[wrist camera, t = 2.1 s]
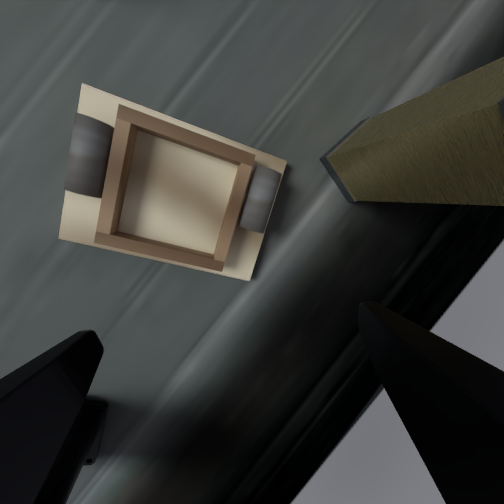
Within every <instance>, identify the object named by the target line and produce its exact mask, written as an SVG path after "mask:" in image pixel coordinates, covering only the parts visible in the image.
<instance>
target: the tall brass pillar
mask: <svg viewBox="0 0 504 504" xmlns="http://www.w3.org/2000/svg"><path fill="white" fill-rule="evenodd" d="M320 160H321V162H322V163H323V165H324V167H325V168H326V170H327V171H328V173H329V174H330V176H331V177H332V179H333V180H334V182H335V183H336V185H337V186H338V188H339V189H340V191H341V192H342V194H343V195H344V197H345V198H346V200H347V201H348V202H356V201H380V202H410V203H439V204H468V205H498V206H504V57H502V58H500V59H498V60H496V61H494V62H492V63H489V64H487V65H485V66H483V67H481V68H479V69H476V70H474V71H472V72H470V73H468V74H466V75H464V76H461V77H459V78H457V79H455V80H453V81H451V82H448V83H446V84H444V85H442V86H440V87H438V88H435V89H433V90H431V91H429V92H427V93H425V94H423V95H420V96H418V97H416V98H414V99H412V100H410V101H407V102H405V103H403V104H401V105H399V106H397V107H394V108H392V109H390V110H388V111H386V112H384V113H382V114H379V115H377V116H375V117H373V118H371V119H370V117H369V118H367V119H365V120H363V121H361V122H360V123H359V124H358V125H356V126H355V127H354V128H353V129H352V130H351V131H350V132H349V133H348V134H347V135H345V136H344V137H343V138H342V139H341V140H340V141H339V142H338V143H337V144H335V145H334V146H333V147H332V148H331V149H330V150H329V151H328V152H327V153H326V154H324V155H323V156H322V157H321V158H320Z"/></svg>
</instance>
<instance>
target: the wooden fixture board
mask: <svg viewBox="0 0 504 504" xmlns="http://www.w3.org/2000/svg"><path fill="white" fill-rule="evenodd" d="M286 163H287V161H285V160H282V159H280V158H277V157H274V156H272V155H269V154H267V153H264V152H261V151H259V150H256V149H253V148H251V147H248V146H246V145H243V144H240V143H238V142H235V141H233V140H230V139H227V138H225V137H222V136H219V135H217V134H214V133H212V132H209V131H206V130H204V129H201V128H198V127H196V126H193V125H191V124H188V123H185V122H183V121H180V120H177V119H175V118H172V117H170V116H167V115H164V114H162V113H159V112H156V111H154V110H151V109H149V108H146V107H143V106H141V105H138V104H135V103H133V102H130V101H128V100H125V99H122V98H120V97H117V96H114V95H112V94H109V93H107V92H104V91H101V90H99V89H96V88H94V87H91V86H88V85H86V84H83V83H82V86H81V93H80V100H79V106H78V113H75V119H74V125H73V132H72V139H71V145H70V152H69V159H68V165H67V172H66V179H65V186H64V189H65V190H66V192H65V199H64V205H63V212H62V219H61V225H60V232H59V239H63V240H68V241H72V242H77V243H81V244H86V245H90V246H95V247H99V248H104V249H108V250H113V251H117V252H122V253H126V254H130V255H135V256H139V257H144V258H148V259H153V260H157V261H162V262H166V263H171V264H175V265H180V266H184V267H189V268H193V269H198V270H202V271H207V272H211V273H216V274H220V275H224V276H229V277H233V278H238V279H242V280H247V281H250V278H251V275H252V272H253V269H254V266H255V262H256V259H257V256H258V253H259V250H260V246H261V243H262V240H263V237H264V234H265V230H266V227H267V224H268V221H269V218H270V214H271V211H272V208H273V205H274V202H275V198H276V195H277V192H278V189H279V186H280V183H281V179H282V176H283V173H284V170H285V167H286Z"/></svg>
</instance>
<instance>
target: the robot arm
mask: <svg viewBox="0 0 504 504" xmlns="http://www.w3.org/2000/svg"><path fill="white" fill-rule="evenodd" d="M357 324H358V328H359V331H360V333H361V336H362V338H363V341H364V343H365V346H366V348H367V351H368V353H369V356H370V358H371V360H372V363H373V365H374V368H375V370H376V372H377V374H378V376H379V378H380V380H381V382H382V384H383V386H384V388H385V390H386V392H387V394H388V396H389V397H390V399H391V401H392V403H393V405H394V407H395V409H396V411H397V412H398V414H399V416H400V418H401V420H402V422H403V424H404V426H405V428H406V429H407V431H408V433H409V435H410V437H411V439H412V440H413V443H414V444H415V446H416V448H417V450H418V452H419V454H420V456H421V458H422V459H423V461H424V463H425V465H426V467H427V469H428V471H429V473H430V475H431V476H432V478H433V480H434V482H435V484H436V486H437V488H438V490H439V491H440V493H441V495H442V497H443V499H444V501H445V503H446V504H504V371H502V370H500V369H498V368H496V367H494V366H493V365H491V364H489V363H487V362H485V361H483V360H481V359H480V358H478V357H476V356H474V355H472V354H470V353H469V352H467V351H465V350H463V349H461V348H459V347H457V346H456V345H454V344H452V343H450V342H448V341H446V340H445V339H443V338H441V337H439V336H437V335H435V334H433V333H432V332H430V331H428V330H426V329H424V328H422V327H420V326H419V325H417V324H415V323H413V322H411V321H409V320H408V319H406V318H404V317H402V316H400V315H398V314H396V313H395V312H393V311H391V310H389V309H387V308H385V307H383V306H382V305H380V304H378V303H376V302H374V301H368V302H361V303H360V305H359V311H358V320H357ZM103 351H104V348H103V345H102V343H101V342H100V340H99V338H98V336H97V334H96V333H95V331H93V330H84V331H79V332H77V333H75V334H74V335H72V336H70V337H69V338H67V339H65V340H64V341H62V342H61V343H59V344H57V345H56V346H54V347H52V348H51V349H49V350H47V351H46V352H44V353H43V354H41V355H39V356H38V357H36V358H34V359H33V360H31V361H29V362H28V363H26V364H24V365H23V366H21V367H20V368H18V369H16V370H15V371H13V372H11V373H10V374H8V375H6V376H5V377H3V378H2V379H0V504H66V502H67V500H68V498H69V495H70V493H71V491H72V489H73V486H74V484H75V482H76V480H77V478H78V475H79V473H80V471H81V469H82V467H83V465H92V464H94V463H95V461H96V458H97V455H98V451H99V446H100V442H101V437H102V433H103V428H104V423H105V419H106V414H107V410H108V404H107V403H106V402H99V401H85V398H86V396H87V393H88V391H89V388H90V386H91V383H92V381H93V378H94V376H95V373H96V371H97V368H98V365H99V363H100V360H101V358H102V355H103ZM100 408H102V409H100Z"/></svg>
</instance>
